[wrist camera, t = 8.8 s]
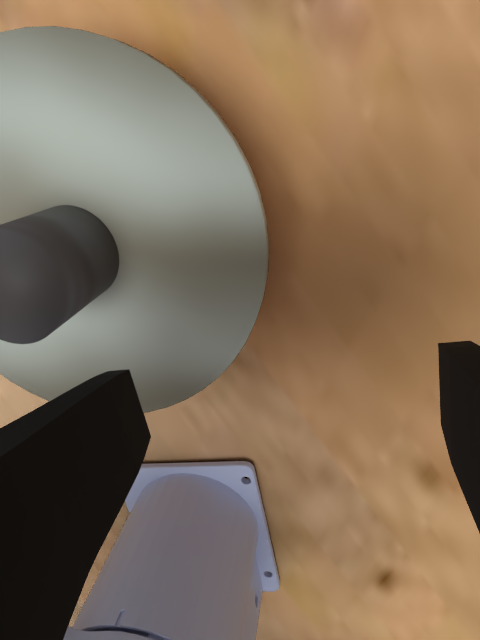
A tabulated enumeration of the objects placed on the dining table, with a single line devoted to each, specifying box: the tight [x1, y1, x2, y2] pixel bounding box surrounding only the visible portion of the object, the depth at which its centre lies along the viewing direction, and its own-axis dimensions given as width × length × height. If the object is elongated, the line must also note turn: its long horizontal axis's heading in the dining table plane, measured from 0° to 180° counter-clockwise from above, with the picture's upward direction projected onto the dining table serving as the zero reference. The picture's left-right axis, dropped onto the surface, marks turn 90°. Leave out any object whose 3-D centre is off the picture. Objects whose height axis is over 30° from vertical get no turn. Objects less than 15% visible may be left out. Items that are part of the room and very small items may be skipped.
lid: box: [0, 26, 269, 413], centre depth 14 cm, size 13×13×4 cm
